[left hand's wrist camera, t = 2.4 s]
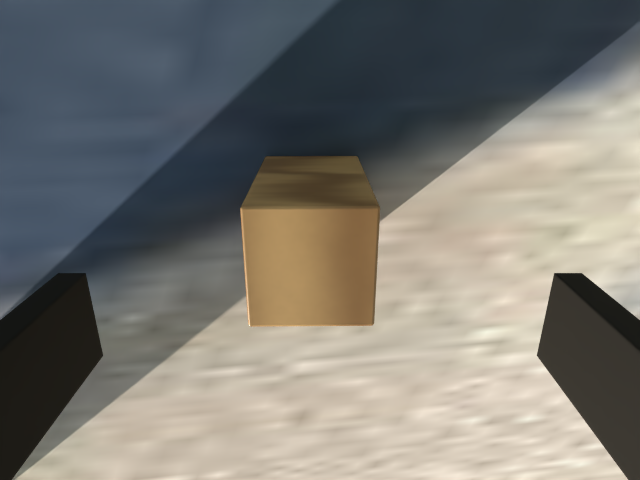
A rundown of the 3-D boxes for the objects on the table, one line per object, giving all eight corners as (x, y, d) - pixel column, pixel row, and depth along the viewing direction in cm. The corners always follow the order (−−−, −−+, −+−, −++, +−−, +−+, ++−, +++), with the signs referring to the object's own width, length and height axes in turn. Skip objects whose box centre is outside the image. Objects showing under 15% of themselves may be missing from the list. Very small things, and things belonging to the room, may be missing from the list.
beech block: (268, 242, 23) (248, 327, 16) (264, 155, 22) (239, 206, 14) (355, 241, 24) (374, 326, 16) (358, 155, 22) (380, 206, 14)
